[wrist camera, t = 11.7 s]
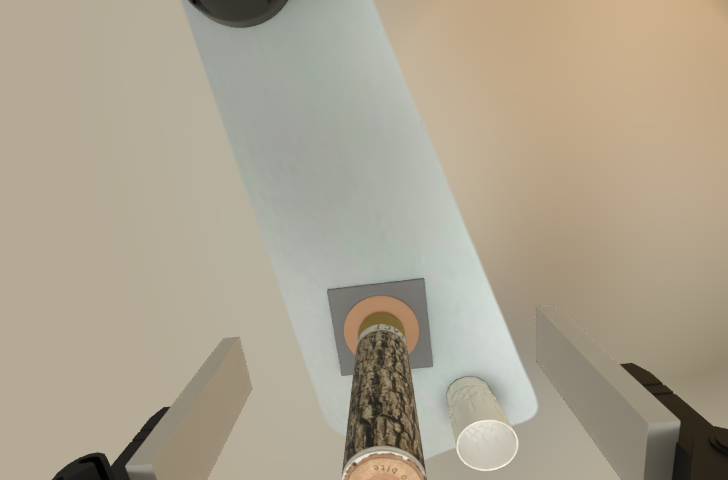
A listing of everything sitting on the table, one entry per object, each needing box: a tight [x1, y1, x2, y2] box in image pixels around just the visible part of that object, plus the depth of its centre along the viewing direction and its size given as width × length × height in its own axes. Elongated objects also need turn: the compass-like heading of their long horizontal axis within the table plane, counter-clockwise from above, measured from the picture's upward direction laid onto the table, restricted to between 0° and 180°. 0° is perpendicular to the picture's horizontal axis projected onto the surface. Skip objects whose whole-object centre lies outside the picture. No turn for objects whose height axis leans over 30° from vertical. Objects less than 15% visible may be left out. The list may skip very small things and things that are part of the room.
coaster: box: [327, 278, 433, 376], centre depth 53 cm, size 14×14×1 cm
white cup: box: [447, 377, 518, 471], centre depth 51 cm, size 8×8×10 cm
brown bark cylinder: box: [342, 313, 427, 480], centre depth 41 cm, size 7×7×25 cm
